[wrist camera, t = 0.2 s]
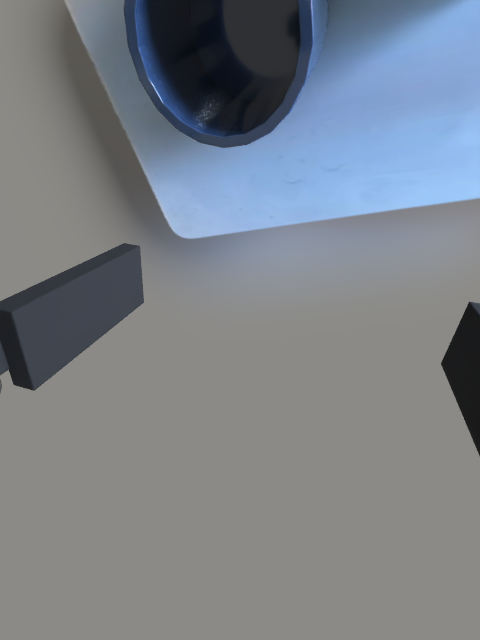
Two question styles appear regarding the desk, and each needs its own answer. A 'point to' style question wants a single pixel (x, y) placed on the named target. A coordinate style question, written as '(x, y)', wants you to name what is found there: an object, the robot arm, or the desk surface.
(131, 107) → the desk surface
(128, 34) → the blue paneled pot
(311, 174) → the desk surface
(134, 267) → the robot arm
